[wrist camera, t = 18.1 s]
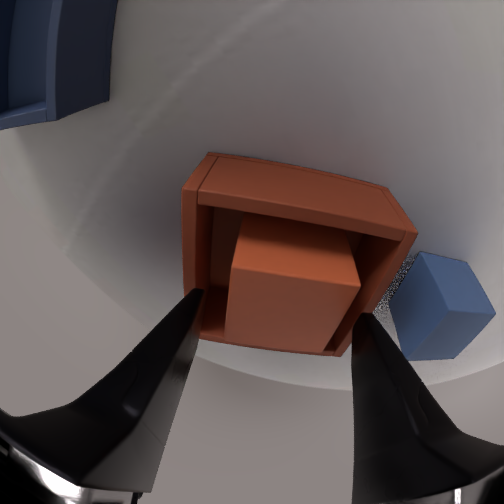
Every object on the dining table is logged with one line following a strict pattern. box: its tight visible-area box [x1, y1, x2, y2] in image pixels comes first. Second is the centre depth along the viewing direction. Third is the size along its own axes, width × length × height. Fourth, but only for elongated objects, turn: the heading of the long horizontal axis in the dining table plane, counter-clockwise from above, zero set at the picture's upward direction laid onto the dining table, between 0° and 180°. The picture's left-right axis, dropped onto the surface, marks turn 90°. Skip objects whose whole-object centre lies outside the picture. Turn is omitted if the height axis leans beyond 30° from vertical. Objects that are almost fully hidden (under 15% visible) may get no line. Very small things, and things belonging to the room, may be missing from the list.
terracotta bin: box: [181, 152, 418, 357], centre depth 11 cm, size 8×8×3 cm
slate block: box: [388, 252, 496, 361], centre depth 12 cm, size 4×4×4 cm
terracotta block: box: [224, 211, 361, 353], centre depth 11 cm, size 4×4×4 cm
